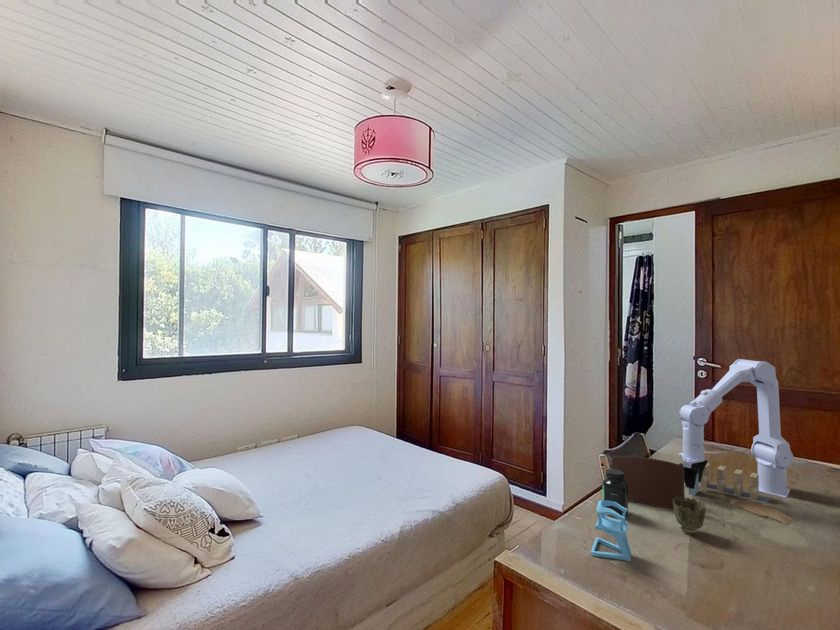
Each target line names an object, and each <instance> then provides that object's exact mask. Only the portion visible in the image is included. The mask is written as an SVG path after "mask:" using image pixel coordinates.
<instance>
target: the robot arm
mask: <svg viewBox="0 0 840 630" xmlns="http://www.w3.org/2000/svg"><path fill="white" fill-rule="evenodd" d="M740 383H751V384H752V385H753V386H754V387H756V394H757V396H756V397H757V398H756V399H757V418H758V434H756V435H755V436H753V437H752V441H753V442H752V445H751V446H750V447H751V449H750V452H751V454H752V456H753V457H754V458H755V461H756V462H757V474H759V493H764V494H768V495H773V496H776V497H780V498H784V499H787V498H788V496H789V493H790V491H791V489H790V488H789V487H787V486H788V485H787V469H789V467H790V466H791V465H792V464H793V462H794V455H793V452H792V450H791V445H790V443H789V442H788V441H786V439H785V438H784V437H782V433H781V430H782V429H781V413H780V412H781V411H780V392H779V381H778V379H777V376H776V367H775V366H774V365H772V364H771V363H769V362H768V361H765V360H763V361H759V360H751V359H744V358H738V359H736V360H735V361H734V362H733V363H732V364H731V365H729V370H728V371H727V372H726V374H725V375H724V376H722V378H721V379H719V381H718V382H717V383H716V384H715V385H714V386H713V387H712V388H711V389H708V388H707V389H705V390H703V389H702V390H701V391H700V394H699V395H698V396H697V397H695V398H694V400H692V401H690V403H689V404H684V405H683V406H681V408H680V409H679V412H677V414H678V418H679V419H680V420H681V425H682V452H679V453H678V456H679V457H682V459H683V460H682V463H681V462H680V463H679V465H681V466H682V467H683V468H684V481H685V483H684V486H685V487H686V488H688V489H689V488H691V489H694V487H695V482H696V477H697V474H698V482H701V479H702V475H703V471H704V468H705V466H706V464H707V463H709V461H708V460H707V459H706V458H705V441H704V440H705V439H704V437H705V434H704V433H705V424H707V423H708V422H709V419H710V416H711V413H713V412H714V410H716V409H717V408H718V407H719V406H720V405H721V404H722V403H723V397H724V396H725V395H727V394H728V393H729V392H730V391H732V390H733V389H734V388H735V387H736V386H738V385H739V384H740Z"/></svg>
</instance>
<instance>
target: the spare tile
mask: <svg viewBox="0 0 840 630" xmlns="http://www.w3.org/2000/svg"><path fill="white" fill-rule="evenodd" d="M698 493H699V487H698V474H697V477H696V482H695V487H694V489H691V488H688V495H690V496H696V494H698Z"/></svg>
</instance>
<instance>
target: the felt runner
mask: <svg viewBox="0 0 840 630" xmlns="http://www.w3.org/2000/svg"><path fill="white" fill-rule="evenodd" d="M684 484H685V481H684ZM699 487H700V488H703V489H708V490H711V491H715V492H719V493H723V494H727V495H731V496H735V497H738V498H742V499H746V500H750V501H752V502H758V503H761V504H766V505H768V503H769V501H770V499H771V496H767V495H763V494H760V493H759V496H758V498H757V500H753V499H750V491H747V490H743V493H742V494H741V496H737V495H734V487H730V486H727V485H726V489H725V490H724V491H723V492H721V491H718V490H717V483H714V482H711V481H710V484H709V486H708V487H707V488H706V487H702V486H701V482H698V488H699Z"/></svg>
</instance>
